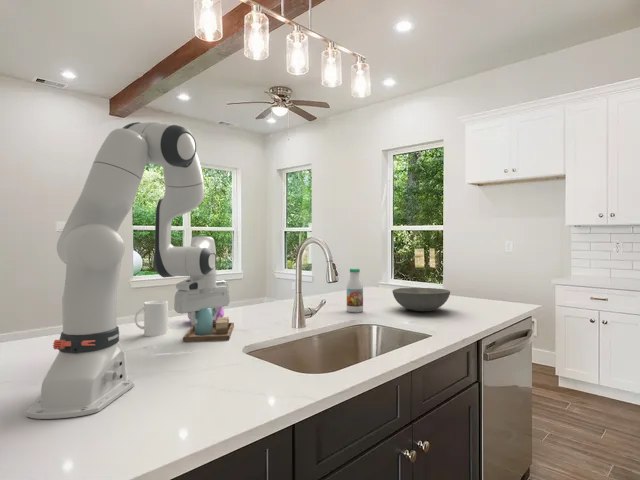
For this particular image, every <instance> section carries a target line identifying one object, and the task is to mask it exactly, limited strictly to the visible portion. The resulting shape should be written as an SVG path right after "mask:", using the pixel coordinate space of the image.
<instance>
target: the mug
mask: <svg viewBox="0 0 640 480" xmlns="http://www.w3.org/2000/svg"><path fill="white" fill-rule="evenodd" d="M141 312H143V325H140V324H139V323H138V322H137V320H138V319H137V318H138V315H139V314H140V313H141ZM134 323H135V326H136V327H137V328H139V329H141V330H143V335H144V336H146V337H158V336H159V337H160V336H164V335H168V334H169V301H168V300H165V299H164V300H163V299H156V300H149V301H148V300H147V301H144V302H143V306H142V307H141V308H139V309H138V310H137V312H136V313H135V315H134Z"/></svg>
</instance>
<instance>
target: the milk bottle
mask: <svg viewBox="0 0 640 480" xmlns="http://www.w3.org/2000/svg"><path fill="white" fill-rule="evenodd" d="M349 274H350V275H349V277H348V280H347V283H346V311H347V312H349V313H362V312H363V311H364V287H363V286H364V285H363V282H362V280H361V277H360V268H356V267H353V268H352V267H350V268H349Z"/></svg>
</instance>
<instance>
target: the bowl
mask: <svg viewBox="0 0 640 480" xmlns="http://www.w3.org/2000/svg"><path fill="white" fill-rule="evenodd" d="M392 295H393V297H394V299H395V301H396V303H398V304H399V305H400V306H401V307H403V308H405V309H407V310H410V311H414V312H431V311H434V310H437V309H440V308H441V307H442V306H444V304H446V302H447V301H448V299H449V298H450V295H451V291H450V290H449V289H445V288H437V287H399V288H395V289H392Z"/></svg>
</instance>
